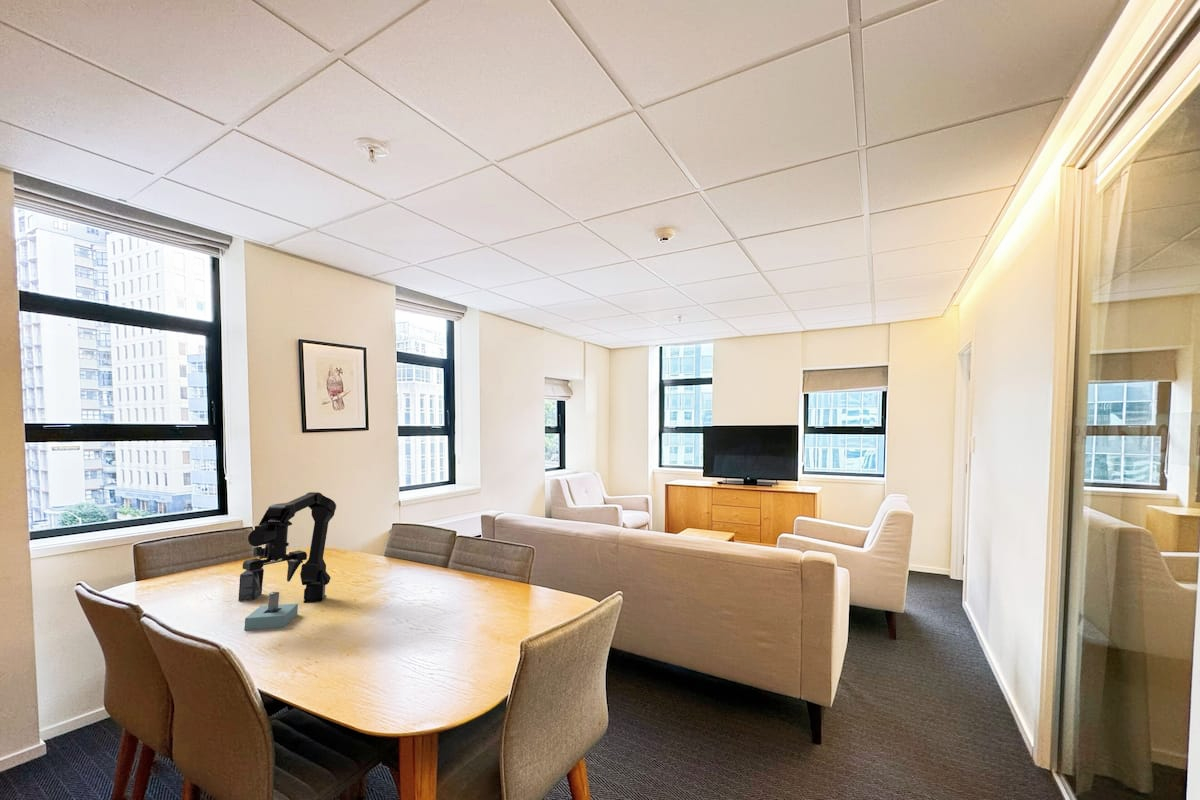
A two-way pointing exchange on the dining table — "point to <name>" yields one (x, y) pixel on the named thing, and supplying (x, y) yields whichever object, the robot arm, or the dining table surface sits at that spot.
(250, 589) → the box
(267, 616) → the hole block
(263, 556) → the robot arm
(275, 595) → the peg
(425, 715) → the dining table surface
